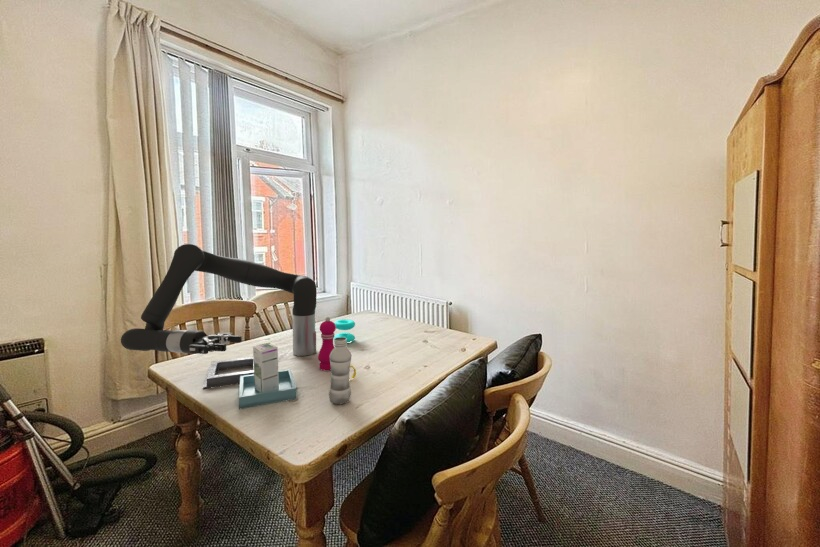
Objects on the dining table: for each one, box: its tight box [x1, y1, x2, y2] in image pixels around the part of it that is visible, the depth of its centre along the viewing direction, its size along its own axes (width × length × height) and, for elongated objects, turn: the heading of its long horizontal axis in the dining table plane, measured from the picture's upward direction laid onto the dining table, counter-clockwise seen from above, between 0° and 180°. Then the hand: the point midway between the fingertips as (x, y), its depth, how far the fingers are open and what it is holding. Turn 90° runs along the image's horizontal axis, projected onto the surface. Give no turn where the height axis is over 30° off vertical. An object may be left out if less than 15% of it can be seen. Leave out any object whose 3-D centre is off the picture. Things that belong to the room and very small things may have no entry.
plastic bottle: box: [328, 337, 353, 405], centre depth 102 cm, size 6×7×20 cm
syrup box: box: [252, 342, 279, 393], centre depth 106 cm, size 6×6×14 cm
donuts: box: [333, 318, 356, 342], centre depth 160 cm, size 10×10×10 cm
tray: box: [238, 368, 298, 410], centre depth 107 cm, size 16×16×4 cm
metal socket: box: [202, 356, 254, 389], centre depth 120 cm, size 18×18×3 cm
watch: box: [350, 363, 357, 379], centre depth 118 cm, size 6×3×6 cm, turn 119°
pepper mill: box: [317, 316, 337, 371], centre depth 128 cm, size 7×7×20 cm
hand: (233, 343), depth 110 cm, fingers open, 8 cm apart
